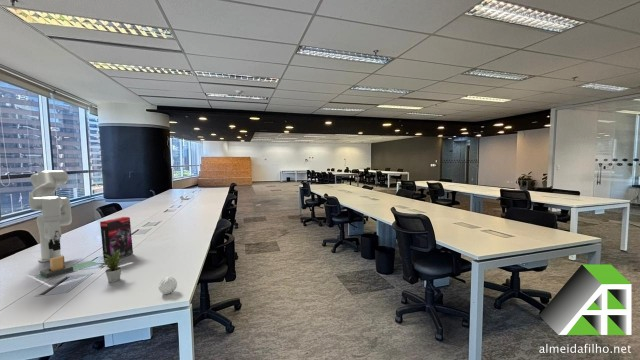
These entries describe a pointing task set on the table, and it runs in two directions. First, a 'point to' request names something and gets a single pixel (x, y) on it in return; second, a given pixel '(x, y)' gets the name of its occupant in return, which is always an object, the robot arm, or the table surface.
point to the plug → (57, 263)
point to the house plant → (112, 267)
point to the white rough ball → (167, 285)
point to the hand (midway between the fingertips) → (54, 249)
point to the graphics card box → (116, 237)
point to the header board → (76, 267)
